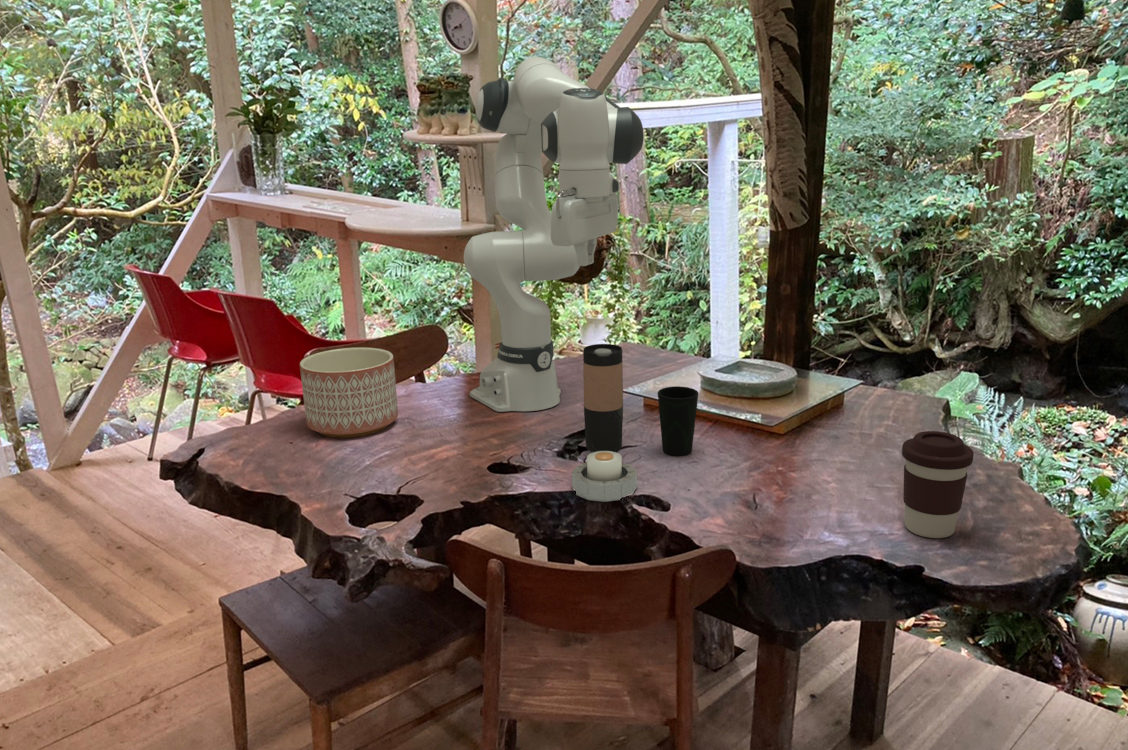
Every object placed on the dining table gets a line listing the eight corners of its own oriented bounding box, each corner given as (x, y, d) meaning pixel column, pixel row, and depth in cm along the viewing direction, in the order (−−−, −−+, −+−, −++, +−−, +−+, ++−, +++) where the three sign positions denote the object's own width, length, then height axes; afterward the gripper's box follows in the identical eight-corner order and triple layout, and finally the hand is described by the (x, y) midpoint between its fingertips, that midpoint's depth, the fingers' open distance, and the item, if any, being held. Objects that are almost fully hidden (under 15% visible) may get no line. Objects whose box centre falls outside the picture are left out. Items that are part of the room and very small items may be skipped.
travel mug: (602, 437, 178) (601, 341, 172) (631, 446, 172) (631, 348, 167) (576, 447, 172) (574, 349, 167) (604, 457, 167) (603, 356, 161)
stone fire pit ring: (560, 488, 154) (559, 472, 153) (604, 470, 161) (604, 455, 160) (604, 507, 146) (604, 490, 145) (649, 487, 153) (649, 471, 152)
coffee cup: (893, 511, 142) (901, 424, 137) (959, 518, 139) (970, 429, 135) (897, 539, 133) (905, 447, 128) (968, 547, 130) (979, 453, 125)
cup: (695, 460, 165) (697, 399, 161) (655, 457, 166) (655, 397, 163) (698, 445, 172) (699, 387, 168) (659, 443, 173) (659, 385, 170)
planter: (369, 445, 177) (362, 374, 172) (288, 436, 183) (280, 368, 178) (414, 414, 194) (409, 350, 190) (339, 407, 200) (333, 345, 196)
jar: (581, 487, 152) (580, 458, 151) (596, 474, 157) (596, 447, 156) (612, 493, 149) (612, 464, 148) (627, 480, 154) (627, 452, 153)
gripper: (574, 191, 142) (576, 275, 146) (624, 181, 160) (624, 257, 164) (540, 190, 145) (542, 273, 149) (592, 181, 162) (593, 255, 166)
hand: (585, 264), depth 156 cm, fingers closed
